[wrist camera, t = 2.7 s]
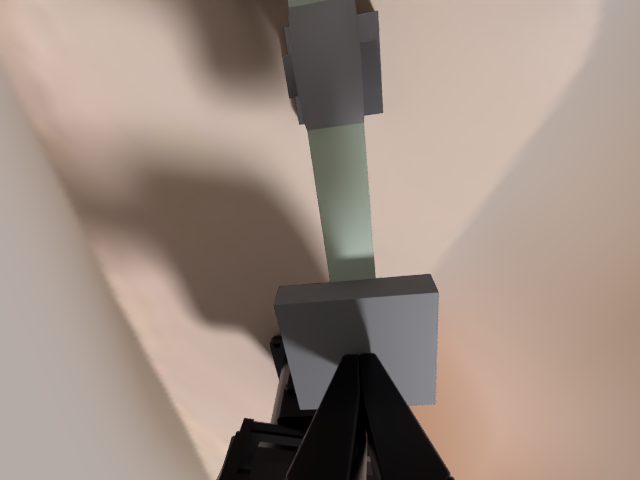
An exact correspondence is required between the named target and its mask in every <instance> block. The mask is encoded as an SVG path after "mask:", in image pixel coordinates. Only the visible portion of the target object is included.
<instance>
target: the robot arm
mask: <svg viewBox="0 0 640 480" xmlns="http://www.w3.org/2000/svg"><path fill="white" fill-rule="evenodd" d="M276 343H279V344H276ZM270 348H271V352H272V356H273V359H274V363H275V366H276V370H277V373H278V377H279V384H278V389H277V394H276V399H275V404H274V409H273V414H272V419H271V423H264V422H257V421H254V419H248V418H244V421H243V423H242V426H241V429H240V431H237V432H236V435H235V436H233V437H232V438H231V442H230V445H229V448H228V451H227V455H226V458H225V461H224V464H223V467H222V469H221V471H220V473H219V475H218V477H217V479H216V480H455V479H454V478H453V477H450V472H449V470H448V468H447V467H446V465H445V464H444V462H443V460H442V459H441V457H440V456H439V454H438V452H437V451H436V449H435V448H434V446H433V445H432V443H431V441H430V440H429V438H428V437H427V435H426V433H425V432H424V430H423V429H422V427H421V425H420V424H419V422H418V421H417V419H416V417H415V416H414V414H413V413H412V411H411V409H410V408H409V406H408V405H407V403H406V401H405V400H404V398H403V397H402V395H401V393H400V392H399V390H398V389H397V387H396V385H395V384H394V382H393V381H392V379H391V377H390V376H389V374H388V373H387V371H386V369H385V368H384V366H383V365H382V363H381V361H380V360H379V358H378V357H377V355H376V354H375V353H362V354H360V357H359V355H358V354H345V355H343V357H342V359H341V361H340V363H339V365H338V367H337V369H336V371H335V373H334V375H333V378H332V380H331V382H330V384H329V386H328V388H327V390H326V392H325V394H324V397H323V399H322V401H321V403H320V405H319V407H318V409H309V410H300V407H299V403H298V399H297V395H296V391H295V387H294V383H293V380H292V376H291V372H290V368H289V364H288V360H287V356H286V352H285V348H284V344H283V340H282V336H274V337H272V339H271V341H270ZM366 433H367V435H366Z"/></svg>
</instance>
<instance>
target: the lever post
mask: <svg viewBox="0 0 640 480" xmlns="http://www.w3.org/2000/svg"><path fill="white" fill-rule="evenodd" d="M357 19H358V28H359V39H360V51H361V64H362V79H363V98H364V115H371V114H379V113H383V102H382V82H381V62H380V42H379V22H378V11H373V12H367V13H361V14H357ZM284 32H285V38H286V45H287V51H288V55H283V56H282V57H283V63H284V69H285V75H286V81H287V87H288V93H289V98H293V97H295V101H296V107H297V113H298V120H299V125H301V124H305V123H304V119H303V116H302V112H301V107H300V103H299V98H298V93H297V87H296V81H295V75H294V69H293V62H292V54H291V46H290V36H289V26H288V27H284Z"/></svg>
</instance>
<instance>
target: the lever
mask: <svg viewBox="0 0 640 480" xmlns="http://www.w3.org/2000/svg"><path fill="white" fill-rule="evenodd" d="M288 6H289V10H288V22H289V36H290V46H291V54H292V62H293V69H294V75H295V81H296V87H297V93H298V98H299V103H300V107H301V112H302V116H303V119H304V123H305V126H306V129H307V132H308V138H309V145H310V152H311V158H312V165H313V171H314V178H315V185H316V191H317V198H318V205H319V211H320V218H321V224H322V231H323V238H324V244H325V251H326V258H327V264H328V271H329V278H330V282H327V283H315V284H303V285H291V286H280V287H279V288H278V292H277V295H276V299H275V302H274V309H275V313H276V316H277V320H278V324H279V328H280V332H281V336H282V340H283V344H284V348H285V352H286V356H287V360H288V364H289V368H290V372H291V376H292V380H293V383H294V387H295V391H296V395H297V399H298V403H299V407H300V410H309V409H318V407H319V405H320V403H321V401H322V399H323V397H324V394H325V392H326V390H327V388H328V386H329V384H330V382H331V380H332V378H333V375H334V373H335V371H336V369H337V367H338V365H339V363H340V361H341V359H342V357H343V355H345V354H358V355H359V357H360V354H362V353H375V354H376V355H377V357H378V358H379V360H380V361H381V363H382V365H383V366H384V368H385V369H386V371H387V373H388V374H389V376H390V377H391V379H392V381H393V382H394V384H395V385H396V387H397V389H398V390H399V392H400V393H401V395H402V397H403V398H404V400H405V401H406V403H407V405H408V406H411V405H435V404H436V369H437V367H436V366H437V334H438V333H437V332H438V299H439V298H438V297H439V292H438V290H437V288H436V285H435V283H434V281H433V279H432V276H431V274H423V275H411V276H399V277H387V278H376V277H375V264H374V251H373V238H372V224H371V211H370V198H369V185H368V171H367V158H366V145H365V132H364V98H363V79H362V64H361V51H360V39H359V28H358V19H357V10H356V3H355V0H288Z"/></svg>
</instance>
